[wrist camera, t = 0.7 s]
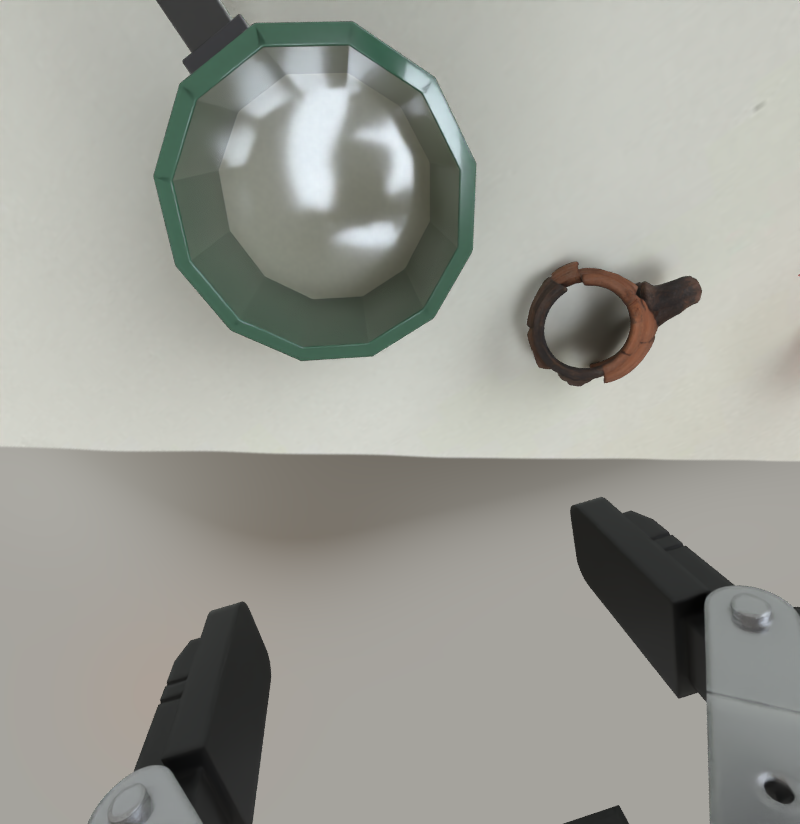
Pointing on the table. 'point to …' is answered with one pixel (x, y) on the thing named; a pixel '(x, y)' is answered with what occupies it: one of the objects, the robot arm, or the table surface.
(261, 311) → the pot
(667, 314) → the brown ring-shaped piece
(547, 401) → the table surface
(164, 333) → the table surface
